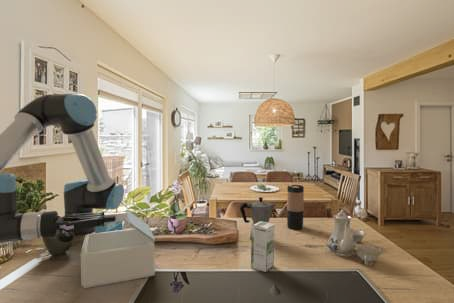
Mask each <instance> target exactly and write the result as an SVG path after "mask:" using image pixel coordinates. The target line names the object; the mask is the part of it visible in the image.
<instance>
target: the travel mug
mask: <svg viewBox="0 0 454 303" xmlns="http://www.w3.org/2000/svg"><path fill="white" fill-rule="evenodd" d="M304 187H305V186H304V185H301V184H292V185H287V188H286V189H287V192H286V195H287V196H286V203H287V204H286V208H287V209H286V220H287V222H286V223H287V224H286V226H287V229H288V230H293V231H301V230H302V229H303V228H304V209H305V207H304V206H305V204H304V201H305V200H304V199H305V197H304V196H305V195H304V194H305V193H304V190H305V189H304Z"/></svg>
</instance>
